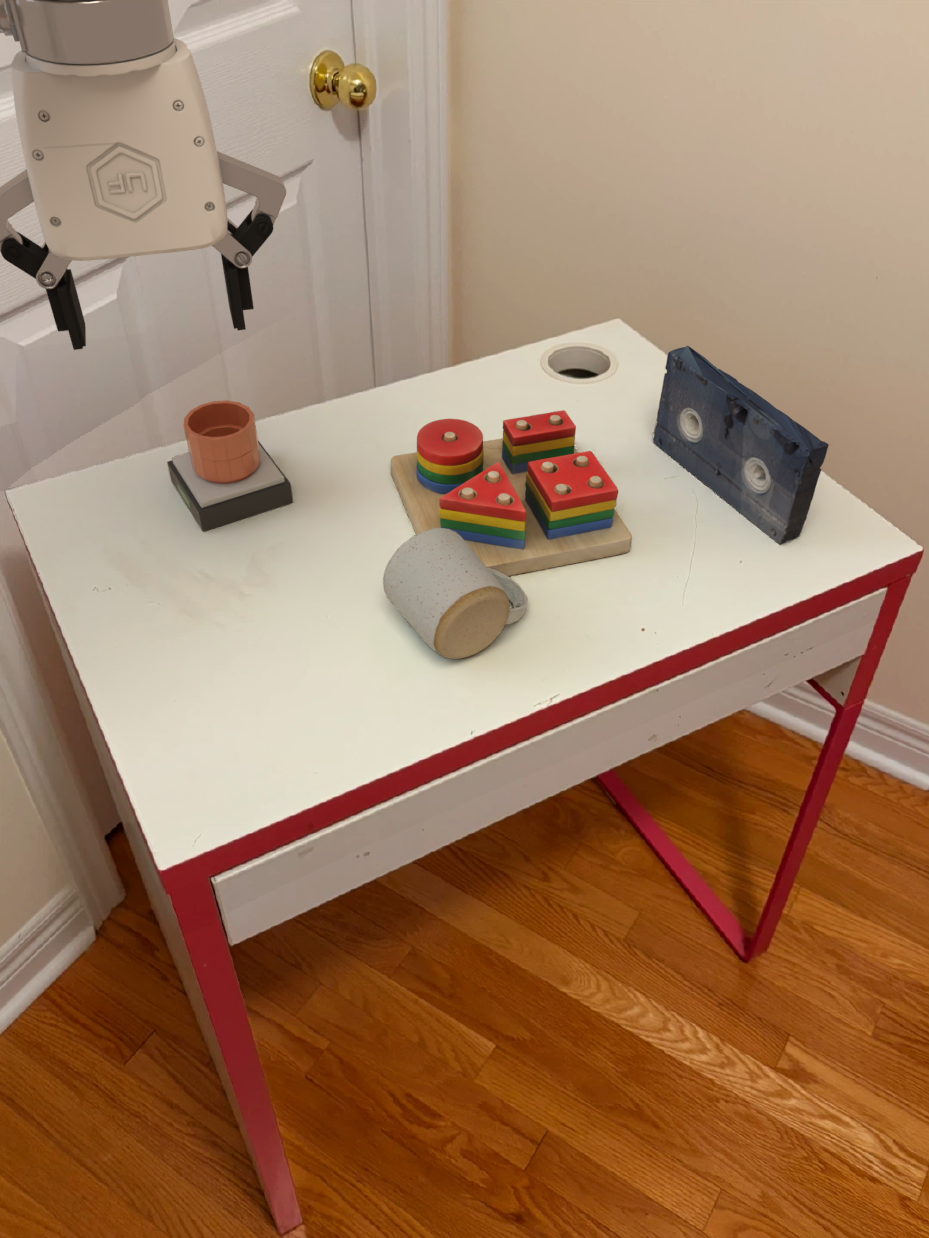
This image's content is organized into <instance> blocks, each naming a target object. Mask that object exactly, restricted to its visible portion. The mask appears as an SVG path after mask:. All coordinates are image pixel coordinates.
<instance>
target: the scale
mask: <svg viewBox="0 0 929 1238" xmlns="http://www.w3.org/2000/svg"><path fill="white" fill-rule="evenodd" d="M258 444H259V451H260V464H259V465H258V467H257V468H256V470H255V471H254V472H253V473H252V474H251V475H250V476H248V477H247V478H245V479H243V480H241V481H238V482H234V483H228V484H218V483H213V482H209V481H207V480H205V479H203V478H202V477H200V476H198V475H197V474H196V473H195V471H194V470H193V468H192V464H191V459H190V455H189V451H188V452H184V453H181V454H178V455H175V456H171V460H168V461H166V465H167V468H168V469H167V470H168V473H169V477H170V481H171V483H172V484H173V486H174V487H175V489H176V491H177V492H178V494H179V496H180V498H181V499H182V500H183V502H184V504H185V506H186V507H187V508H188V510H189V512H190V513H191V515H192V517H193V518H194V520H195V521H196V523H197V525H198V526H199V528H200V529H201V532H203V533H204V532H207V531H210V530H214V529H216V528H219V527H222V526H225V525H228V524H231V523H235V522H238V521H241V520H244V519H247V518H250V517H254V516H256V515H259V514H263V513H265V512H268V511H271V510H274V509H278V508H281V507H285V506H287V505H290V504H293V503H294V499H293V492H292V491H293V489H292V483H291V482H290V481H289V479H288V478H287V476H286V475H285V473H283V470H281V469H280V467H279V466H278V464H277V463H276V462H275V460H274V459H273V457H272V456H271V455H270V454H269V453H268V452H267V450H266V449H265V447H264V446H263V445H262V443H261V442H260V441H259V440H258Z"/></svg>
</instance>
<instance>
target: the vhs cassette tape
mask: <svg viewBox="0 0 929 1238" xmlns="http://www.w3.org/2000/svg"><path fill="white" fill-rule="evenodd" d="M664 369H665V370H666V372H665V373H664V376H663V381H662V387H661V392H660V398H659V404H658V409H657V415H656V416H657V417H656V424H655V427H654V432H653V438H652V442H653V444H654V445H655V446H656V447H657V448H658V449H660V450H661V451H663V452H664V453H665V454H666V455H668V456H669V457H670V458H671V459H672V460H674V462H676V463H678V465H680V466H681V467H683V468H684V469H685V470H686V471H687V472H688V473H690V474H691V475H692V476H693V477H695V478H696V479H697V480H698V481H700V482H701V483H702V484H703V485H704V486H706V487H707V488H708V489H710V490H711V491H713V493H715V494H716V495H717V496H718V497H719V498H721V500H723V501H724V502H725V503H727V504H728V505H729V506H731V507H732V508H733V509H734V510H735V511H737V512H738V513H739V514H740V515H742V516H743V517H744V518H746V519H747V520H748V521H749V522H750V523H751V524H753V525H754V526H756V527H757V528H758V529H759V530H761V532H763V533H764V534H765V535H767V537H769V538H770V539H771V540H772V541H774V542H776V544H779V545H780V544H785V543H787V542H789V541H791V540H794V539H797V538H798V537H800V536H801V533H802V531H803V528H804V525H805V522H806V520H807V517H808V514H809V512H810V508H811V504H812V502H813V499H814V496H815V491H816V488H817V484H818V481H819V478H820V475H821V472H822V468H821V467H822V466H823V464H824V463H825V459H826V456H827V454H828V453H827V452H828V449H829V446H830V444H829V443H827V442H826V441H823V440H821V439H820V438H819V437H818V436H816V435H815V434H814V433H812V432H811V431H810V430H809V429H807V428H806V427H804V426H803V425H801V424H800V423H799V422H797V421H796V420H794V419H792V418H791V417H790V416H789V415H788V414H786V413H785V412H783V411H782V410H780V409H779V408H777V407H775V406H774V405H773V404H771V403H770V402H769V401H767V399H765V398H763V397H762V396H761V395H760V394H758V393H757V392H755V391H753V389H751V388H749V387H747V386H746V385H745V384H743V383H741V382H739V381H738V379H736V378H735V377H734V376H732V375H731V374H729V373H727V372H725V371H723V370H722V369H720V368H717V366H715V365H714V364H713V363H712V362H711V361H710V360H709V359H707V358H706V357H705V356H704V355H702V354H700V353H699V352H697V351H696V350H695V349H693V348H692V347H690V345H685V346H683V347H679V348H678V347H677V348H675V349H672V350H670V351H668V353H667V357H666V364H665V367H664Z"/></svg>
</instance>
